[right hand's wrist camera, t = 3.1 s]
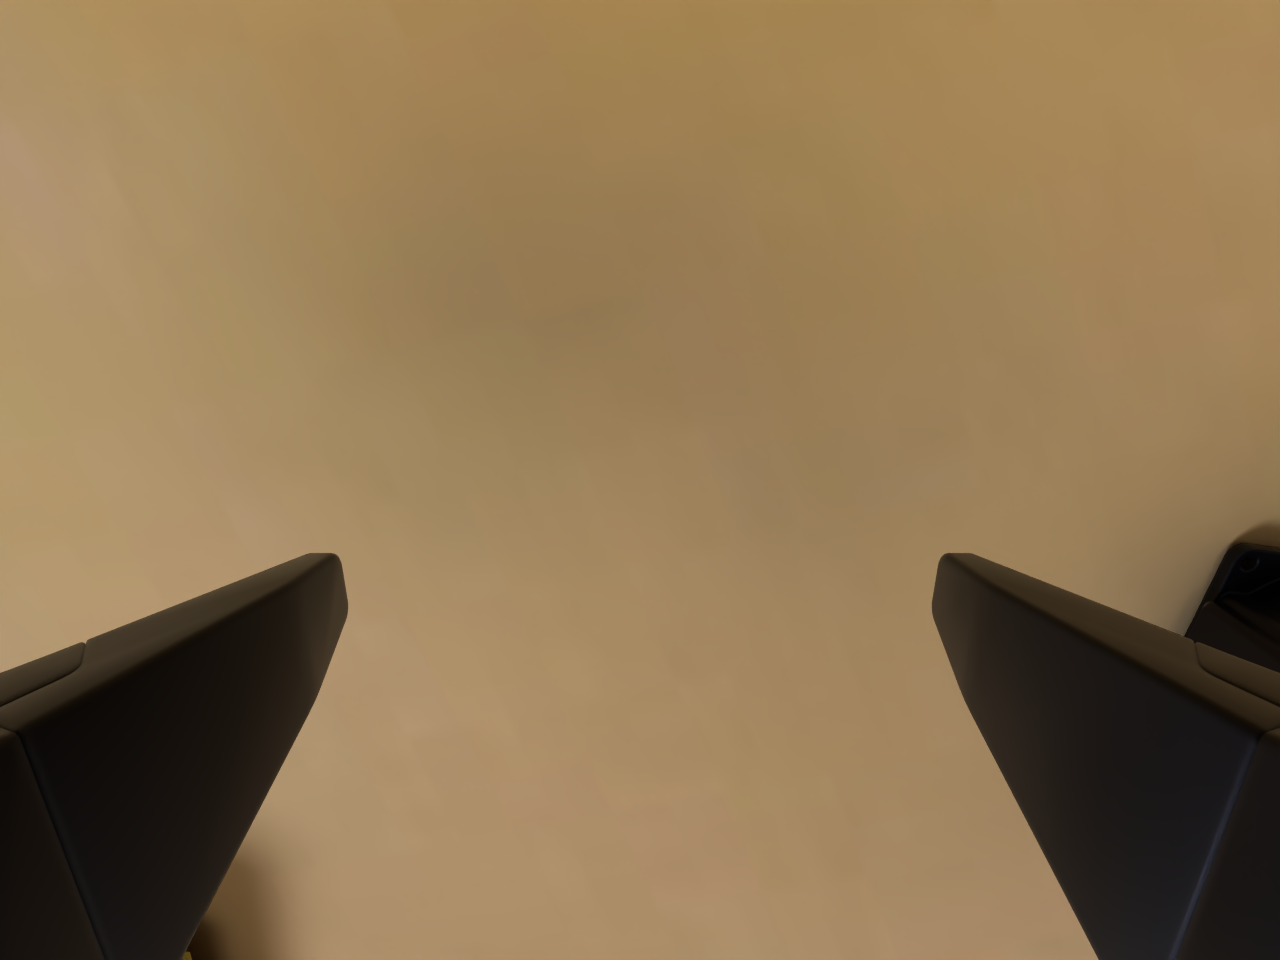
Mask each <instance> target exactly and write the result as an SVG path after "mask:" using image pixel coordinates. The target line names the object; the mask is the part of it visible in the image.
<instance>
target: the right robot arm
mask: <svg viewBox="0 0 1280 960" xmlns="http://www.w3.org/2000/svg"><path fill="white" fill-rule="evenodd" d="M1247 557H1248V559H1247V560H1246V561H1245V562H1244V563H1242V561H1243V560H1244V559H1245V558H1247ZM347 613H348V599H347V593H346V587H345V581H344V575H343V569H342V564H341V561H340V559H339V557H338V556H337V555H336V554H333V553H309V554H306V555H303V556H301V557H298V558H295V559H293V560H290V561H288V562H285V563H283V564H280V565H278V566H275V567H272V568H270V569H267V570H265V571H262V572H260V573H257V574H255V575H252V576H249V577H247V578H244V579H242V580H239V581H237V582H234V583H232V584H229V585H226V586H224V587H221V588H219V589H216V590H214V591H211V592H209V593H206V594H203V595H201V596H198V597H196V598H193V599H191V600H188V601H186V602H183V603H180V604H178V605H175V606H173V607H170V608H168V609H165V610H163V611H160V612H157V613H155V614H152V615H150V616H147V617H145V618H142V619H140V620H137V621H134V622H132V623H129V624H127V625H124V626H122V627H119V628H117V629H114V630H111V631H109V632H106V633H104V634H101V635H99V636H96V637H94V638H91V639H89V640H87V642H86V644H85V643H83V642H81V643H78V644H75V645H73V646H70V647H68V648H65V649H63V650H60V651H57V652H55V653H52V654H50V655H47V656H44V657H42V658H39V659H36V660H34V661H31V662H29V663H26V664H23V665H21V666H18V667H15V668H13V669H10V670H7V671H5V672H2V673H0V960H181V959H182V957H183V955H184V953H185V951H186V950H187V948H188V946H189V944H190V942H191V940H192V938H193V936H194V934H195V932H196V930H197V928H198V926H199V924H200V923H201V921H202V919H203V917H204V915H205V913H206V911H207V909H208V907H209V905H210V903H211V901H212V899H213V897H214V896H215V894H216V892H217V890H218V888H219V886H220V884H221V882H222V880H223V878H224V876H225V874H226V872H227V870H228V869H229V867H230V865H231V863H232V861H233V859H234V857H235V855H236V853H237V851H238V849H239V847H240V845H241V843H242V842H243V840H244V838H245V836H246V834H247V832H248V830H249V828H250V826H251V824H252V822H253V820H254V818H255V816H256V815H257V813H258V811H259V809H260V807H261V805H262V803H263V801H264V799H265V797H266V795H267V793H268V791H269V789H270V788H271V786H272V784H273V782H274V780H275V778H276V776H277V774H278V772H279V770H280V768H281V766H282V764H283V763H284V761H285V759H286V757H287V755H288V753H289V751H290V749H291V747H292V745H293V743H294V741H295V739H296V737H297V736H298V734H299V732H300V730H301V728H302V726H303V724H304V722H305V720H306V718H307V716H308V714H309V712H310V710H311V708H312V706H313V704H314V702H315V700H316V697H317V695H318V693H319V690H320V688H321V685H322V683H323V680H324V677H325V675H326V672H327V669H328V666H329V664H330V661H331V658H332V656H333V653H334V650H335V648H336V645H337V642H338V640H339V637H340V634H341V632H342V629H343V626H344V624H345V621H346V618H347ZM932 613H933V618H934V621H935V624H936V626H937V629H938V632H939V634H940V637H941V640H942V642H943V645H944V648H945V650H946V653H947V656H948V658H949V661H950V664H951V666H952V669H953V672H954V675H955V677H956V680H957V683H958V685H959V688H960V690H961V693H962V695H963V697H964V700H965V702H966V704H967V706H968V708H969V710H970V712H971V714H972V716H973V718H974V720H975V722H976V724H977V726H978V728H979V730H980V732H981V734H982V736H983V737H984V739H985V741H986V743H987V745H988V747H989V749H990V751H991V753H992V755H993V757H994V759H995V761H996V763H997V764H998V766H999V768H1000V770H1001V772H1002V774H1003V776H1004V778H1005V780H1006V782H1007V784H1008V786H1009V788H1010V790H1011V791H1012V793H1013V795H1014V797H1015V799H1016V801H1017V803H1018V805H1019V807H1020V809H1021V811H1022V813H1023V815H1024V816H1025V818H1026V820H1027V822H1028V824H1029V826H1030V828H1031V830H1032V832H1033V834H1034V836H1035V838H1036V840H1037V842H1038V843H1039V845H1040V847H1041V849H1042V851H1043V853H1044V855H1045V857H1046V859H1047V861H1048V863H1049V865H1050V867H1051V869H1052V870H1053V872H1054V874H1055V876H1056V878H1057V880H1058V882H1059V884H1060V886H1061V888H1062V890H1063V892H1064V894H1065V896H1066V897H1067V899H1068V901H1069V903H1070V905H1071V907H1072V909H1073V911H1074V913H1075V915H1076V917H1077V919H1078V921H1079V923H1080V924H1081V926H1082V928H1083V930H1084V932H1085V934H1086V936H1087V938H1088V940H1089V942H1090V944H1091V946H1092V948H1093V950H1094V951H1095V953H1096V955H1097V957H1098V959H1099V960H1280V548H1276V547H1269V546H1262V545H1255V544H1248V543H1243V544H1238V545H1236V546H1234V547H1232V548H1231V549H1229V550H1228V552H1227V553H1226V554H1225V556H1224V558H1223V560H1222V562H1221V564H1220V566H1219V568H1218V570H1217V572H1216V574H1215V576H1214V578H1213V580H1212V582H1211V584H1210V586H1209V588H1208V590H1207V592H1206V594H1205V596H1204V598H1203V600H1202V602H1201V604H1200V606H1199V608H1198V610H1197V612H1196V614H1195V616H1194V618H1193V620H1192V622H1191V624H1190V626H1189V628H1188V630H1187V632H1186V634H1185V636H1181V635H1179V634H1176V633H1174V632H1171V631H1169V630H1166V629H1163V628H1161V627H1158V626H1156V625H1153V624H1151V623H1148V622H1146V621H1143V620H1140V619H1138V618H1135V617H1133V616H1130V615H1128V614H1125V613H1123V612H1120V611H1117V610H1115V609H1112V608H1110V607H1107V606H1105V605H1102V604H1100V603H1097V602H1094V601H1092V600H1089V599H1087V598H1084V597H1082V596H1079V595H1077V594H1074V593H1071V592H1069V591H1066V590H1064V589H1061V588H1059V587H1056V586H1054V585H1051V584H1048V583H1046V582H1043V581H1041V580H1038V579H1036V578H1033V577H1031V576H1028V575H1025V574H1023V573H1020V572H1018V571H1015V570H1013V569H1010V568H1008V567H1005V566H1002V565H1000V564H997V563H995V562H992V561H990V560H987V559H985V558H982V557H979V556H977V555H974V554H971V553H947V554H944V555H943V556H942V557H941V559H940V561H939V564H938V569H937V575H936V581H935V587H934V593H933V599H932Z"/></svg>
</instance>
